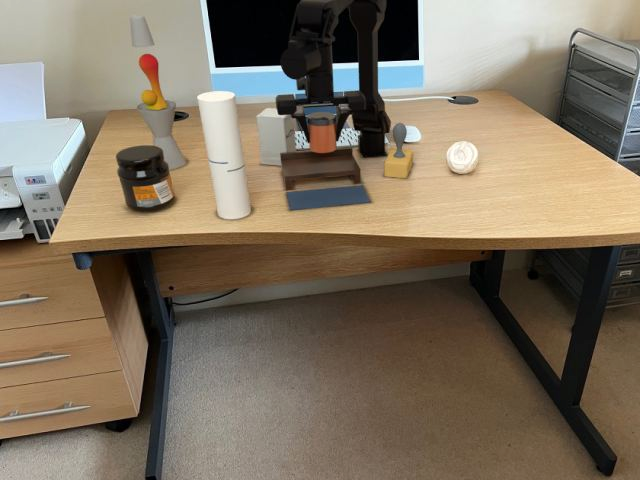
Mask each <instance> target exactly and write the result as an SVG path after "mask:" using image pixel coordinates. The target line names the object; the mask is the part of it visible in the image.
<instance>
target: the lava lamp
mask: <svg viewBox="0 0 640 480" xmlns="http://www.w3.org/2000/svg"><path fill="white" fill-rule="evenodd" d="M129 22H130V23H129V24H130V34H131V35H130V36H131V46H132V47H134V48H147V47H153V46H155V41H154V39H153V36H152V33H151V31H150V28H149V25H148V21H147V20H146V17H145V16H144V15H143V14H134V15H131V16H130V17H129ZM138 66H139V68H140V70H141V71H142V72H143V74H144V75H145V76H146V78H147V80H148V82H149V83H150V87H151V89H145V90H143V91H142V92H141V95H140V97H141V103H140V104H138V105H136V109H137V110H138V112H139V114H140V115H141V117H142V119H143V121H144V122H145V124H146V125H147V127H148V129H149V131H150V132H151V134H152V135H153V143H152V146H157V147H160V148H161V149H162V150H163V153H164V158H165V159H164V160H165V161H166V162H167V163H168V165H169V171H170V170H175V169H179V168H182V167H184V166H185V165H186V164H187V160H186V157H184V154H183V153H182V151H181V149H180V147H179V145H178V143H177V141H176V139H175V138H174V136H173V130H174V129H173V127H174V121H175V114H176V107H177V103H176V102H175V101H173V100H168V99H165V97H164V95H163V92H162V89H161V83H160V77H159V60H158V59H157V58H156V56H154V55H153V54H152V53H144V54H142V55H141V56H140V57H139V59H138Z"/></svg>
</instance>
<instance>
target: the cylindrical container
mask: <svg viewBox="0 0 640 480" xmlns="http://www.w3.org/2000/svg"><path fill="white" fill-rule="evenodd" d="M196 98H197V104H198V109H199V115H200V116H199V117H200V121H201V127H202V132H203V138H204V139H203V140H204V143H205V149H206V150H205V151H206V155H207V161H208V167H209V172H210V177H211V183H212V188H213V194H214V200H215V201H214V202H215V206H216V212H217V216H218V217H220V218H221V219H225V220H238V219H242V218H245V217H247V216H248V215H250V214H251V212H252V208H251V207H252V206H251V200H250V192H249V186H248V185H249V184H248V179H247V171H246V165H245V157H244V156H245V155H244V150H243V142H242V136H241V129H240V120H239V115H238V106H237V100H236V94H235V93H234V92H231V91H227V90H214V91H213V90H212V91H206V92H202V93H200V94H198V95H197V96H196Z"/></svg>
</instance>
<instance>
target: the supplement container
mask: <svg viewBox="0 0 640 480" xmlns="http://www.w3.org/2000/svg"><path fill="white" fill-rule="evenodd" d="M164 159H165V158H164V153H163V150H162V149H161V148H160V147H157V146H153V144H152V145H150V144H143V145H134V146H130V147H126V148H123V149H121V150H119V151H118V152H117V153H116V154H115V160H116V163H117V166H118V168H117V170H116V173H117V176H118V178H119V182H120V187H121V189H122V193H123V196H124V202H125V205H126V207H127V208H128V209H129V210H131V211H133V212H136V213H156V212H160V211H163V210H165V209H167V208H169V207H171V205H172V204H174V202H175V200H176V194H175V190H174V185H173V182H172V176H171V173H170V170H169V165H168V163H167V162H166V161H165V160H164Z"/></svg>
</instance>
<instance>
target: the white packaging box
mask: <svg viewBox="0 0 640 480" xmlns="http://www.w3.org/2000/svg"><path fill="white" fill-rule="evenodd" d="M255 118H256V129H257V137H258V145H259V153H260V163H261V164H262V165H267V166H269V165H270V166H281V158H280V153H284V152H296V151H297V148H296V147H297V146H296V134H295V124H294V123H295V122H294V118H291V115H278V112H277V108H275V107H265V109H264V110H262V111H260V113H258V114H257V115H256V116H255Z"/></svg>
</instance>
